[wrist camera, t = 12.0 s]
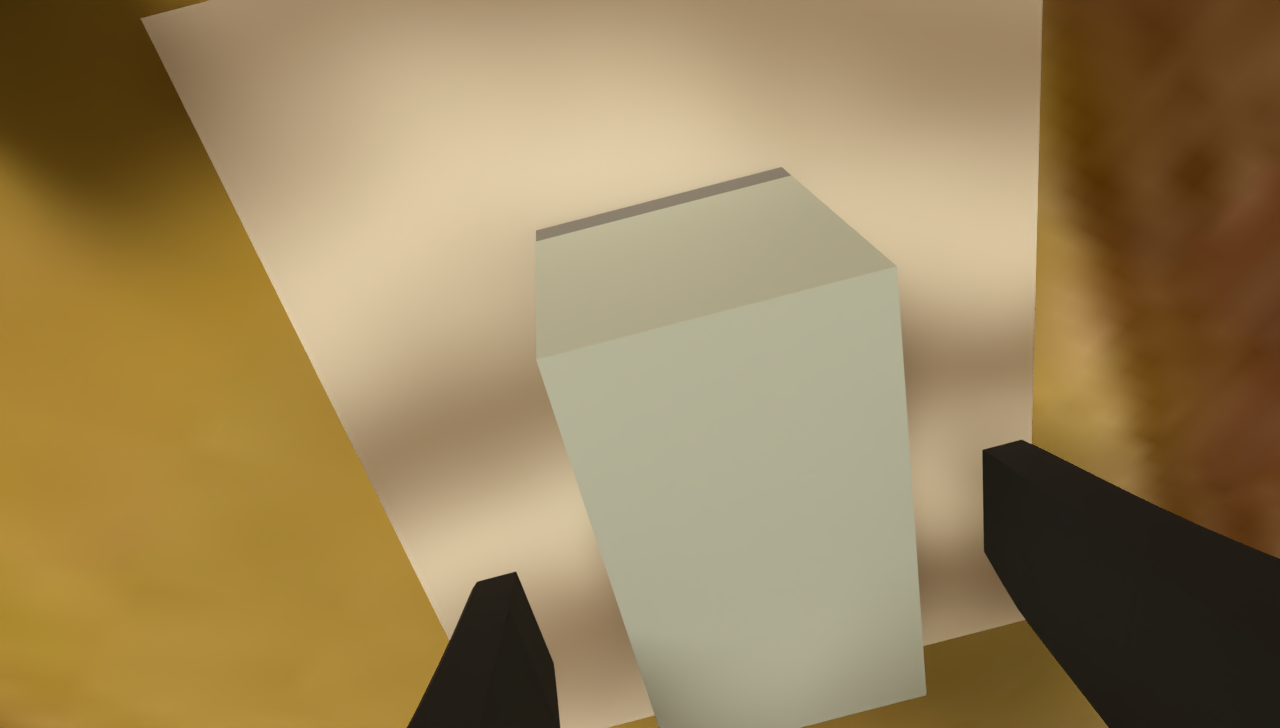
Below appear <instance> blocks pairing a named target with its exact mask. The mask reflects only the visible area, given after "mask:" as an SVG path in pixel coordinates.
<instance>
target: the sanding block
mask: <svg viewBox="0 0 1280 728" xmlns="http://www.w3.org/2000/svg"><path fill="white" fill-rule="evenodd" d="M536 361H537V364H538V367H539V370H540V373H541V376H542V379H543V382H544V385H545V388H546V391H547V394H548V397H549V400H550V403H551V406H552V409H553V412H554V415H555V418H556V421H557V424H558V427H559V430H560V433H561V436H562V439H563V442H564V445H565V448H566V451H567V454H568V457H569V460H570V463H571V466H572V469H573V472H574V475H575V478H576V481H577V484H578V487H579V490H580V493H581V496H582V499H583V502H584V505H585V508H586V511H587V514H588V517H589V520H590V523H591V526H592V529H593V532H594V535H595V538H596V541H597V544H598V547H599V550H600V553H601V556H602V559H603V562H604V565H605V568H606V571H607V574H608V577H609V580H610V583H611V586H612V589H613V592H614V595H615V598H616V601H617V604H618V607H619V610H620V613H621V616H622V619H623V622H624V625H625V628H626V631H627V634H628V637H629V640H630V643H631V646H632V649H633V652H634V655H635V658H636V661H637V664H638V667H639V670H640V673H641V676H642V679H643V682H644V685H645V688H646V691H647V694H648V697H649V700H650V703H651V706H652V709H653V712H654V715H655V718H656V721H657V724H658V727H659V728H801V727H805V726H809V725H813V724H817V723H820V722H824V721H828V720H832V719H836V718H840V717H844V716H848V715H852V714H855V713H859V712H863V711H867V710H871V709H875V708H879V707H883V706H887V705H890V704H894V703H898V702H902V701H906V700H910V699H914V698H918V697H921V696H925V695H927V693H926V679H925V665H924V650H923V636H922V621H921V607H920V592H919V578H918V563H917V549H916V534H915V520H914V505H913V491H912V476H911V462H910V447H909V433H908V419H907V404H906V390H905V375H904V361H903V346H902V332H901V317H900V303H899V288H898V274H897V266H896V265H895V264H894V263H893V262H891V261H890V260H889V259H888V258H887V257H886V256H884V255H883V254H882V253H881V252H880V251H879V250H877V249H876V248H875V247H874V246H873V245H872V244H871V243H869V242H868V241H867V240H866V239H865V238H864V237H862V236H861V235H860V234H859V233H858V232H857V231H855V230H854V229H853V228H852V227H851V226H850V225H848V224H847V223H846V222H845V221H844V220H843V219H842V218H840V217H839V216H838V215H837V214H836V213H835V212H833V211H832V210H831V209H830V208H829V207H828V206H826V205H825V204H824V203H823V202H822V201H821V200H819V199H818V198H817V197H816V196H815V195H814V194H813V193H811V192H810V191H809V190H808V189H807V188H806V187H804V186H803V185H802V184H801V183H800V182H799V181H797V180H796V179H795V178H794V177H793V176H792V175H790V174H789V173H788V172H787V171H786V170H785V169H784V168H782V167H780V168H776V169H772V170H768V171H764V172H760V173H756V174H753V175H749V176H745V177H741V178H737V179H733V180H729V181H726V182H722V183H718V184H714V185H710V186H706V187H702V188H699V189H695V190H691V191H687V192H683V193H679V194H675V195H671V196H668V197H664V198H660V199H656V200H652V201H648V202H644V203H641V204H637V205H633V206H629V207H625V208H621V209H617V210H614V211H610V212H606V213H602V214H598V215H594V216H590V217H587V218H583V219H579V220H575V221H571V222H567V223H563V224H560V225H556V226H552V227H548V228H544V229H540V230H536Z"/></svg>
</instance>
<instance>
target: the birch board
mask: <svg viewBox="0 0 1280 728" xmlns="http://www.w3.org/2000/svg"><path fill="white" fill-rule="evenodd" d="M1042 2H1043V0H209V1H205V2H201V3H198V4H194V5H190V6H186V7H182V8H178V9H175V10H171V11H167V12H163V13H159V14H155V15H151V16H148V17H144V18H140V19H141V21H142V23H143V25H144V27H145V29H146V31H147V33H148V35H149V37H150V39H151V41H152V43H153V45H154V47H155V49H156V51H157V53H158V55H159V57H160V59H161V61H162V63H163V65H164V67H165V69H166V71H167V73H168V75H169V77H170V79H171V81H172V83H173V85H174V87H175V89H176V91H177V93H178V95H179V97H180V99H181V101H182V103H183V105H184V107H185V109H186V111H187V113H188V115H189V117H190V119H191V121H192V123H193V125H194V127H195V129H196V131H197V133H198V135H199V137H200V139H201V141H202V143H203V145H204V147H205V149H206V151H207V153H208V155H209V157H210V160H211V162H212V164H213V166H214V168H215V170H216V172H217V174H218V176H219V178H220V180H221V182H222V184H223V186H224V188H225V190H226V192H227V194H228V196H229V198H230V200H231V202H232V204H233V206H234V208H235V210H236V212H237V214H238V216H239V218H240V220H241V222H242V224H243V226H244V228H245V230H246V232H247V234H248V236H249V238H250V240H251V242H252V244H253V246H254V248H255V250H256V252H257V254H258V256H259V258H260V260H261V262H262V264H263V266H264V268H265V270H266V272H267V274H268V276H269V278H270V280H271V282H272V284H273V286H274V288H275V290H276V292H277V294H278V296H279V298H280V300H281V302H282V305H283V307H284V309H285V311H286V313H287V315H288V317H289V319H290V321H291V323H292V325H293V327H294V329H295V331H296V333H297V335H298V337H299V339H300V341H301V343H302V345H303V347H304V349H305V351H306V353H307V355H308V357H309V359H310V361H311V363H312V365H313V367H314V369H315V371H316V373H317V375H318V377H319V379H320V381H321V383H322V385H323V387H324V389H325V391H326V393H327V395H328V397H329V399H330V401H331V403H332V405H333V407H334V409H335V411H336V413H337V415H338V417H339V419H340V421H341V423H342V425H343V427H344V429H345V431H346V433H347V435H348V437H349V439H350V441H351V443H352V445H353V447H354V449H355V452H356V454H357V456H358V458H359V460H360V462H361V464H362V466H363V468H364V470H365V472H366V474H367V476H368V478H369V480H370V482H371V484H372V486H373V488H374V490H375V492H376V494H377V496H378V498H379V500H380V502H381V504H382V506H383V508H384V510H385V512H386V514H387V516H388V518H389V520H390V522H391V524H392V526H393V528H394V530H395V532H396V534H397V536H398V538H399V540H400V542H401V544H402V546H403V548H404V550H405V552H406V554H407V556H408V558H409V560H410V562H411V564H412V566H413V568H414V570H415V572H416V574H417V576H418V578H419V580H420V582H421V584H422V586H423V588H424V590H425V592H426V594H427V597H428V599H429V601H430V603H431V605H432V607H433V609H434V611H435V613H436V615H437V617H438V619H439V621H440V623H441V625H442V627H443V629H444V631H445V633H446V635H447V637H448V639H449V641H450V639H451V637H452V634H453V632H454V630H455V628H456V625H457V623H458V621H459V618H460V616H461V614H462V611H463V609H464V607H465V605H466V602H467V600H468V598H469V595H470V593H471V591H472V589H473V587H474V586H475V584H476V582H478V581H481V580H485V579H489V578H493V577H497V576H501V575H504V574H508V573H512V572H517V575H518V577H519V579H520V582H521V584H522V587H523V589H524V592H525V594H526V597H527V599H528V601H529V604H530V606H531V609H532V611H533V614H534V616H535V619H536V621H537V623H538V626H539V628H540V631H541V633H542V636H543V638H544V641H545V643H546V645H547V648H548V650H549V653H550V655H551V658H552V660H553V663H554V669H555V678H556V688H557V697H558V707H559V718H560V728H608V727H612V726H616V725H619V724H623V723H627V722H631V721H635V720H639V719H643V718H647V717H650V716H654V712H653V709H652V706H651V703H650V700H649V697H648V694H647V691H646V688H645V685H644V682H643V679H642V676H641V673H640V670H639V667H638V664H637V661H636V658H635V655H634V652H633V649H632V646H631V643H630V640H629V637H628V634H627V631H626V628H625V625H624V622H623V619H622V616H621V613H620V610H619V607H618V604H617V601H616V598H615V595H614V592H613V589H612V586H611V583H610V580H609V577H608V574H607V571H606V568H605V565H604V562H603V559H602V556H601V553H600V550H599V547H598V544H597V541H596V538H595V535H594V532H593V529H592V526H591V523H590V520H589V517H588V514H587V511H586V508H585V505H584V502H583V499H582V496H581V493H580V490H579V487H578V484H577V481H576V478H575V475H574V472H573V469H572V466H571V463H570V460H569V457H568V454H567V451H566V448H565V445H564V442H563V439H562V436H561V433H560V430H559V427H558V424H557V421H556V418H555V415H554V412H553V409H552V406H551V403H550V400H549V397H548V394H547V391H546V388H545V385H544V382H543V379H542V376H541V373H540V370H539V367H538V364H537V361H536V230H540V229H544V228H548V227H552V226H556V225H560V224H563V223H567V222H571V221H575V220H579V219H583V218H587V217H590V216H594V215H598V214H602V213H606V212H610V211H614V210H617V209H621V208H625V207H629V206H633V205H637V204H641V203H644V202H648V201H652V200H656V199H660V198H664V197H668V196H671V195H675V194H679V193H683V192H687V191H691V190H695V189H699V188H702V187H706V186H710V185H714V184H718V183H722V182H726V181H729V180H733V179H737V178H741V177H745V176H749V175H753V174H756V173H760V172H764V171H768V170H772V169H776V168H780V167H782V168H784V169H785V170H786V171H787V172H788V173H789V174H790V175H792V176H793V177H794V178H795V179H796V180H797V181H799V182H800V183H801V184H802V185H803V186H804V187H806V188H807V189H808V190H809V191H810V192H811V193H813V194H814V195H815V196H816V197H817V198H818V199H819V200H821V201H822V202H823V203H824V204H825V205H826V206H828V207H829V208H830V209H831V210H832V211H833V212H835V213H836V214H837V215H838V216H839V217H840V218H842V219H843V220H844V221H845V222H846V223H847V224H848V225H850V226H851V227H852V228H853V229H854V230H855V231H857V232H858V233H859V234H860V235H861V236H862V237H864V238H865V239H866V240H867V241H868V242H869V243H871V244H872V245H873V246H874V247H875V248H876V249H877V250H879V251H880V252H881V253H882V254H883V255H884V256H886V257H887V258H888V259H889V260H890V261H891V262H893V263H894V264H895V265H896V266H897V274H898V288H899V303H900V317H901V332H902V346H903V361H904V375H905V390H906V404H907V419H908V433H909V447H910V462H911V476H912V491H913V505H914V520H915V534H916V549H917V563H918V578H919V592H920V607H921V621H922V636H923V646H926V645H930V644H934V643H938V642H942V641H946V640H949V639H953V638H957V637H961V636H965V635H969V634H973V633H977V632H980V631H984V630H988V629H992V628H996V627H1000V626H1004V625H1008V624H1012V623H1015V622H1019V621H1023V620H1025V618H1024V617H1023V616H1022V614H1021V613H1020V611H1019V610H1018V608H1017V607H1016V605H1015V604H1014V602H1013V600H1012V599H1011V597H1010V595H1009V594H1008V592H1007V590H1006V589H1005V587H1004V586H1003V584H1002V582H1001V580H1000V579H999V577H998V575H997V573H996V572H995V570H994V568H993V566H992V565H991V563H990V561H989V560H988V558H987V556H986V554H985V553H984V530H983V465H982V450H984V449H987V448H991V447H995V446H999V445H1003V444H1007V443H1010V442H1014V441H1018V440H1024V441H1026V442H1028V443H1030V444H1032V404H1033V364H1034V324H1035V284H1036V243H1037V203H1038V163H1039V123H1040V82H1041V42H1042Z"/></svg>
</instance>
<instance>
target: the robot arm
mask: <svg viewBox="0 0 1280 728" xmlns="http://www.w3.org/2000/svg"><path fill="white" fill-rule="evenodd" d="M982 465H983V530H984V553H985V554H986V556H987V558H988V560H989V561H990V563H991V565H992V566H993V568H994V570H995V572H996V573H997V575H998V577H999V579H1000V580H1001V582H1002V584H1003V586H1004V587H1005V589H1006V590H1007V592H1008V594H1009V595H1010V597H1011V599H1012V600H1013V602H1014V604H1015V605H1016V607H1017V608H1018V610H1019V611H1020V613H1021V614H1022V616H1023V617H1024V618H1025V620H1026V621H1027V622H1028V624H1029V625H1030V626H1031V627H1032V629H1033V630H1034V631H1035V633H1036V634H1037V635H1038V637H1039V638H1040V639H1041V641H1042V642H1043V643H1044V644H1045V646H1046V647H1047V648H1048V650H1049V651H1050V652H1051V654H1052V655H1053V656H1054V658H1055V659H1056V660H1057V661H1058V663H1059V664H1060V665H1061V667H1062V668H1063V669H1064V670H1065V672H1066V673H1067V674H1068V676H1069V677H1070V678H1071V679H1072V681H1073V682H1074V683H1075V685H1076V686H1077V687H1078V688H1079V690H1080V691H1081V692H1082V694H1083V695H1084V696H1085V697H1086V699H1087V700H1088V701H1089V703H1090V704H1091V705H1092V706H1093V708H1094V709H1095V710H1096V712H1097V713H1098V714H1099V715H1100V717H1101V718H1102V719H1103V721H1104V722H1105V723H1106V724H1107V726H1108V727H1109V728H1280V559H1279V558H1276V557H1274V556H1271V555H1268V554H1266V553H1263V552H1261V551H1258V550H1256V549H1254V548H1251V547H1249V546H1246V545H1244V544H1242V543H1239V542H1237V541H1235V540H1232V539H1230V538H1228V537H1225V536H1223V535H1220V534H1218V533H1216V532H1213V531H1211V530H1209V529H1206V528H1204V527H1202V526H1200V525H1197V524H1195V523H1193V522H1191V521H1189V520H1186V519H1184V518H1182V517H1180V516H1177V515H1175V514H1173V513H1171V512H1169V511H1167V510H1165V509H1162V508H1160V507H1158V506H1156V505H1154V504H1152V503H1150V502H1148V501H1146V500H1143V499H1141V498H1139V497H1137V496H1135V495H1133V494H1131V493H1129V492H1127V491H1125V490H1123V489H1121V488H1119V487H1117V486H1115V485H1113V484H1111V483H1109V482H1107V481H1105V480H1103V479H1101V478H1099V477H1097V476H1095V475H1093V474H1091V473H1089V472H1087V471H1085V470H1083V469H1081V468H1079V467H1077V466H1075V465H1073V464H1071V463H1069V462H1067V461H1065V460H1063V459H1061V458H1059V457H1057V456H1055V455H1053V454H1051V453H1049V452H1047V451H1045V450H1043V449H1041V448H1039V447H1037V446H1035V445H1033V444H1030V443H1028V442H1026V441H1024V440H1018V441H1014V442H1010V443H1007V444H1003V445H999V446H995V447H991V448H987V449H984V450H982ZM407 728H560V718H559V707H558V697H557V688H556V678H555V669H554V663H553V660H552V658H551V655H550V653H549V650H548V648H547V645H546V643H545V641H544V638H543V636H542V633H541V631H540V628H539V626H538V623H537V621H536V619H535V616H534V614H533V611H532V609H531V606H530V604H529V601H528V599H527V597H526V594H525V592H524V589H523V587H522V584H521V582H520V579H519V577H518V575H517V572H512V573H508V574H504V575H501V576H497V577H493V578H489V579H485V580H481V581H478V582H476V584H475V586H474V587H473V589H472V591H471V593H470V595H469V598H468V600H467V602H466V605H465V607H464V609H463V611H462V614H461V616H460V618H459V621H458V623H457V625H456V628H455V630H454V632H453V634H452V637H451V639H450V641H449V643H448V645H447V647H446V650H445V652H444V654H443V656H442V658H441V661H440V663H439V665H438V667H437V669H436V671H435V673H434V675H433V677H432V679H431V681H430V683H429V685H428V687H427V689H426V691H425V693H424V695H423V697H422V699H421V702H420V704H419V706H418V708H417V710H416V711H415V713H414V715H413V717H412V719H411V721H410V723H409V725H408V727H407Z"/></svg>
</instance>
